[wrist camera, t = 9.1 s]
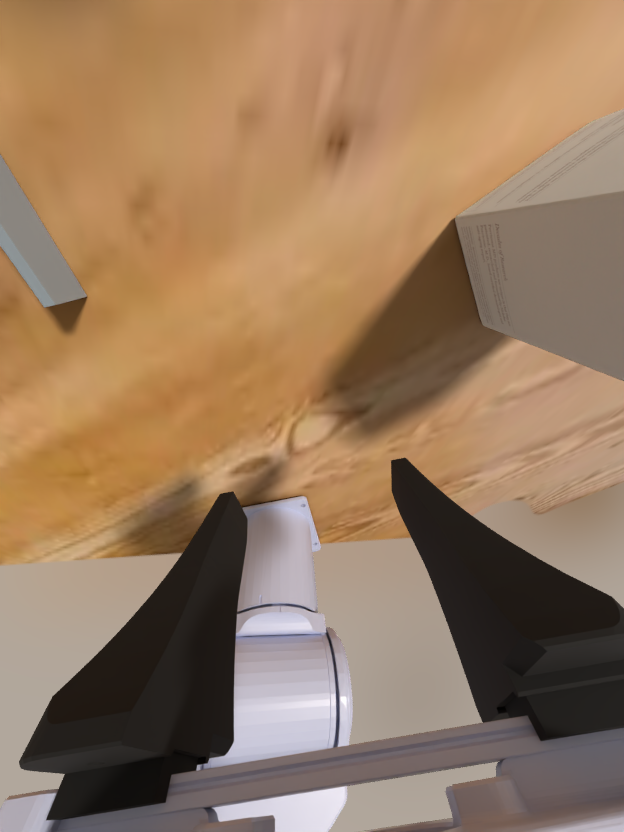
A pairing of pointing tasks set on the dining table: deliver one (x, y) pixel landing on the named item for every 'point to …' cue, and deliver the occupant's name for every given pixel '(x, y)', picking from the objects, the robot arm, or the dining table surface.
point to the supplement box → (556, 249)
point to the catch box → (33, 246)
